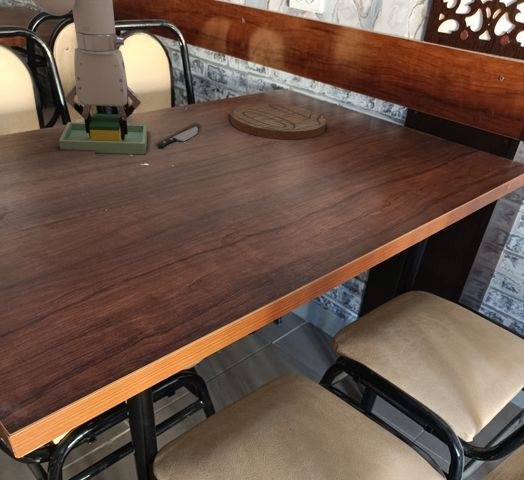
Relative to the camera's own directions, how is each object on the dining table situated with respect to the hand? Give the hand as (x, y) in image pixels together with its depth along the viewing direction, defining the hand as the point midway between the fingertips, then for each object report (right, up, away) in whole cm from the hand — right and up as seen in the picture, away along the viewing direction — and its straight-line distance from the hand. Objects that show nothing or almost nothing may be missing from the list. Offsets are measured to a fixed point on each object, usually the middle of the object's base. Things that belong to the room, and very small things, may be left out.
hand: (107, 136), depth 111 cm
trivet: (+38, +12, +22) cm, 46 cm away
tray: (-1, -1, +1) cm, 2 cm away
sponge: (0, 0, 0) cm, 1 cm away
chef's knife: (+15, +2, +8) cm, 17 cm away
